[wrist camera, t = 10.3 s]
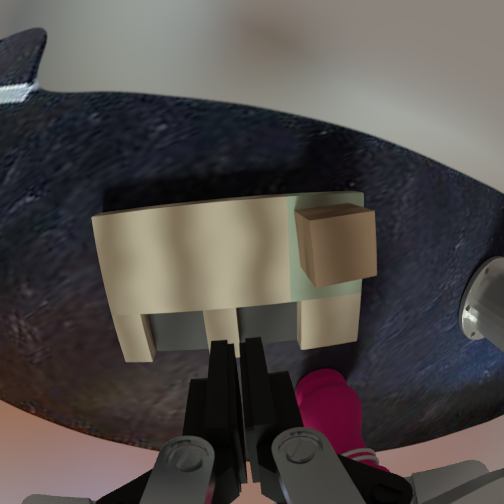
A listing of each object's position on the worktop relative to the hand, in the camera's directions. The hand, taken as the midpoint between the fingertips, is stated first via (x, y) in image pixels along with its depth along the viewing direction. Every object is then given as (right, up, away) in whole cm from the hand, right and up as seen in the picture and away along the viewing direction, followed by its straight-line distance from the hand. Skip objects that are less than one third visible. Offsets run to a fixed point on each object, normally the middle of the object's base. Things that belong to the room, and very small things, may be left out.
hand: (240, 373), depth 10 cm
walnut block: (+7, +6, +16) cm, 18 cm away
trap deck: (-1, +2, +19) cm, 19 cm away
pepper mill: (+9, -12, +24) cm, 28 cm away
